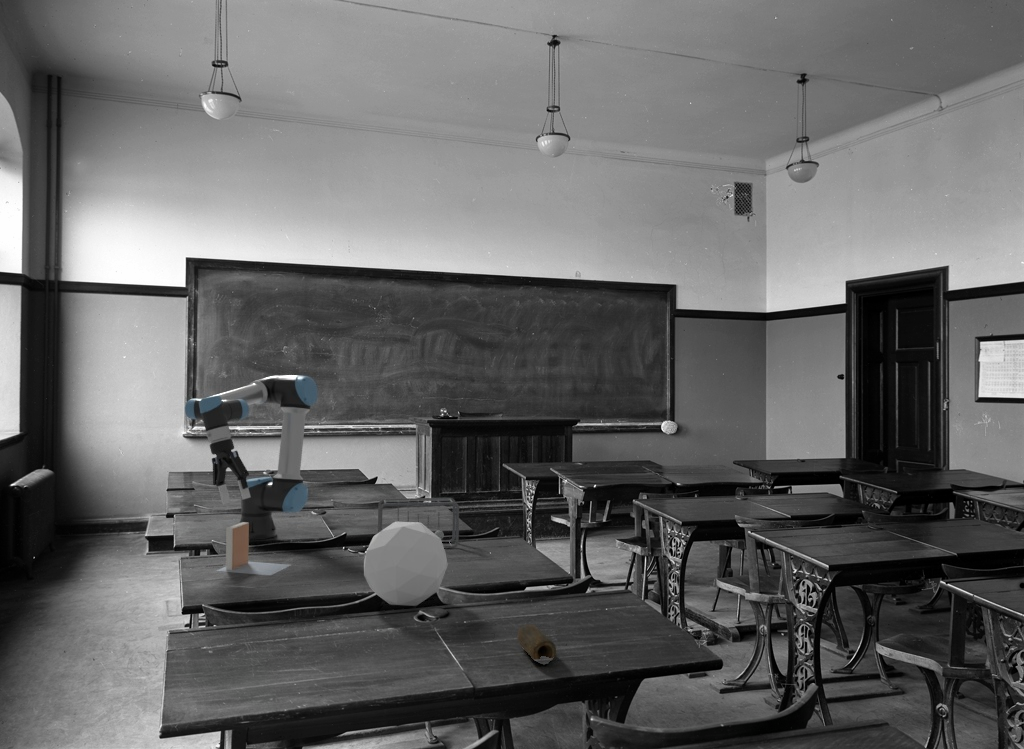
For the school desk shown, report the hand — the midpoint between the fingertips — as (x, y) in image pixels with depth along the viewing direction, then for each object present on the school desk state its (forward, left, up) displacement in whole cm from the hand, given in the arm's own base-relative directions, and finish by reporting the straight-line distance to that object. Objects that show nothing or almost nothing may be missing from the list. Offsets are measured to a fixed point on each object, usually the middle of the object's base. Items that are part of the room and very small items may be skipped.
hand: (236, 501), depth 272 cm
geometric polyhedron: (-20, +71, -22) cm, 77 cm away
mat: (-3, +8, -22) cm, 24 cm away
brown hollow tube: (-20, +126, -22) cm, 129 cm away
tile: (+1, +3, -22) cm, 22 cm away
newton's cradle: (-65, +15, -22) cm, 71 cm away
